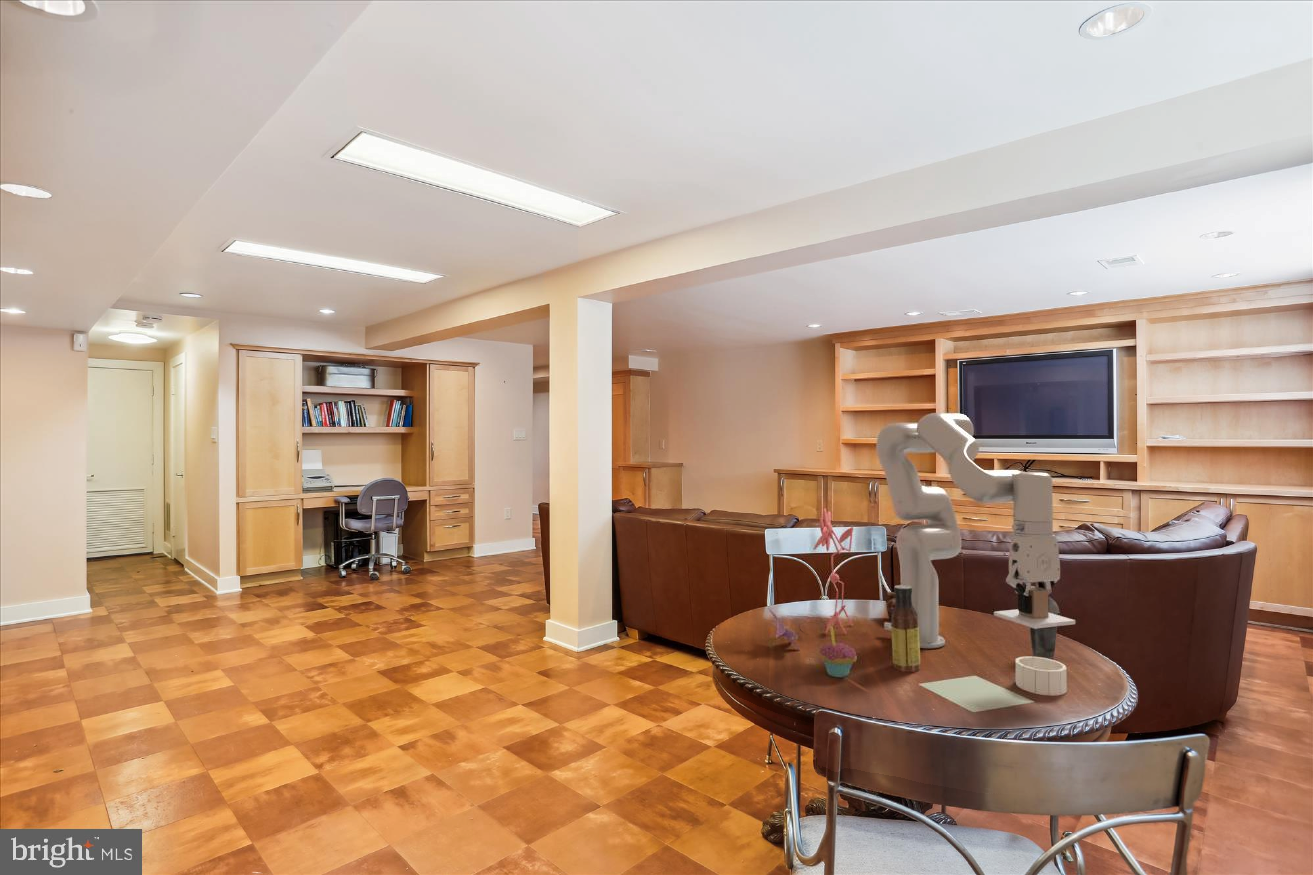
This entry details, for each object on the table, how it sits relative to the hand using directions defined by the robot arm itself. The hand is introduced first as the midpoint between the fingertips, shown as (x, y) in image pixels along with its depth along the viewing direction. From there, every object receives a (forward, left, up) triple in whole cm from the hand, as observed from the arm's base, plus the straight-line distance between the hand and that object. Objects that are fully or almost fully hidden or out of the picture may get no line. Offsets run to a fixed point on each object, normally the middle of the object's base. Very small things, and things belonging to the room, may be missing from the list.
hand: (1033, 610), depth 145 cm
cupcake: (-41, -9, -17) cm, 45 cm away
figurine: (-52, +28, -17) cm, 61 cm away
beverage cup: (+3, +25, -17) cm, 31 cm away
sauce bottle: (-27, +1, -17) cm, 32 cm away
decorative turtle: (-32, +44, -18) cm, 57 cm away
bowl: (+1, +1, -17) cm, 17 cm away
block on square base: (0, 0, -2) cm, 2 cm away
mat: (-12, -9, -17) cm, 23 cm away
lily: (-57, +4, -18) cm, 60 cm away
